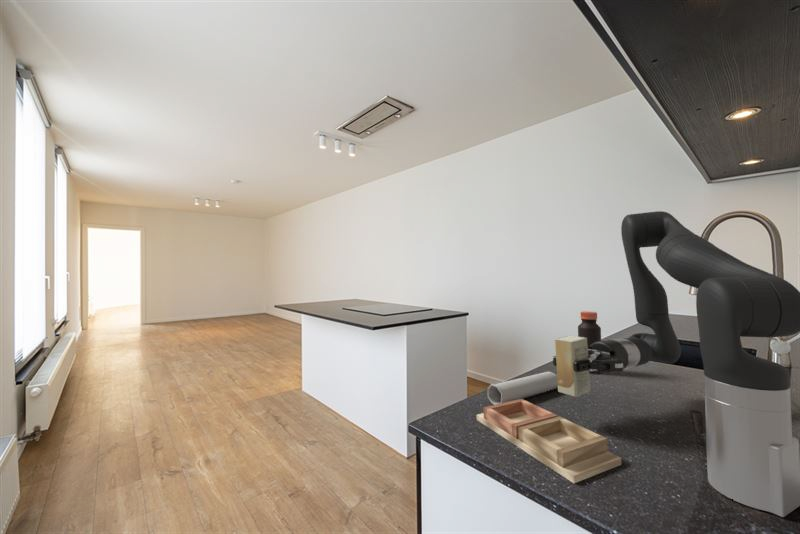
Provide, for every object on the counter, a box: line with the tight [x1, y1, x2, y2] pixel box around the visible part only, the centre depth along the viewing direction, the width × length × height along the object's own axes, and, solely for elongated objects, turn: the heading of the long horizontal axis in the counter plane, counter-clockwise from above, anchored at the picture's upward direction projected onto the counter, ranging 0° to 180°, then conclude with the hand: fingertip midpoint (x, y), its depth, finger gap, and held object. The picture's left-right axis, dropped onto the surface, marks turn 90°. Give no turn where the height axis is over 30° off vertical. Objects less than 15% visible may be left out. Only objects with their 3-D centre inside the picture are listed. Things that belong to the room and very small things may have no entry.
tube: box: [487, 371, 558, 405], centre depth 92 cm, size 5×5×25 cm
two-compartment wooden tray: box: [476, 398, 622, 484], centre depth 68 cm, size 26×12×4 cm, turn 24°
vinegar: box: [577, 311, 602, 374], centre depth 113 cm, size 7×7×20 cm
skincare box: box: [554, 335, 591, 398], centre depth 75 cm, size 6×4×12 cm
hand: (564, 364), depth 74 cm, fingers closed on skincare box, 4 cm apart
